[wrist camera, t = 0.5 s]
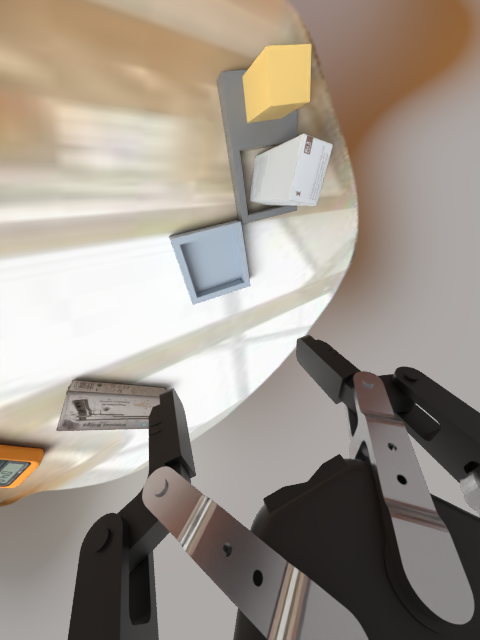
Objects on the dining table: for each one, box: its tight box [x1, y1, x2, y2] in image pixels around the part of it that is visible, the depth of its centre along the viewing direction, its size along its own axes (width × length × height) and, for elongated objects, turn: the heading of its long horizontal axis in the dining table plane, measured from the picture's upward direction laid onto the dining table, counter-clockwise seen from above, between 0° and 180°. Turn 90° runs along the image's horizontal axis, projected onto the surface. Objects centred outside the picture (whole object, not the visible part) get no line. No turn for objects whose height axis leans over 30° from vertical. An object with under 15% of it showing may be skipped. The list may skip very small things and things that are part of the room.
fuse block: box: [217, 44, 311, 224], centre depth 27 cm, size 16×10×8 cm, turn 9°
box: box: [56, 380, 166, 431], centre depth 41 cm, size 11×17×3 cm, turn 60°
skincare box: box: [249, 133, 333, 206], centre depth 27 cm, size 6×4×12 cm
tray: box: [169, 220, 250, 305], centre depth 34 cm, size 11×11×2 cm
